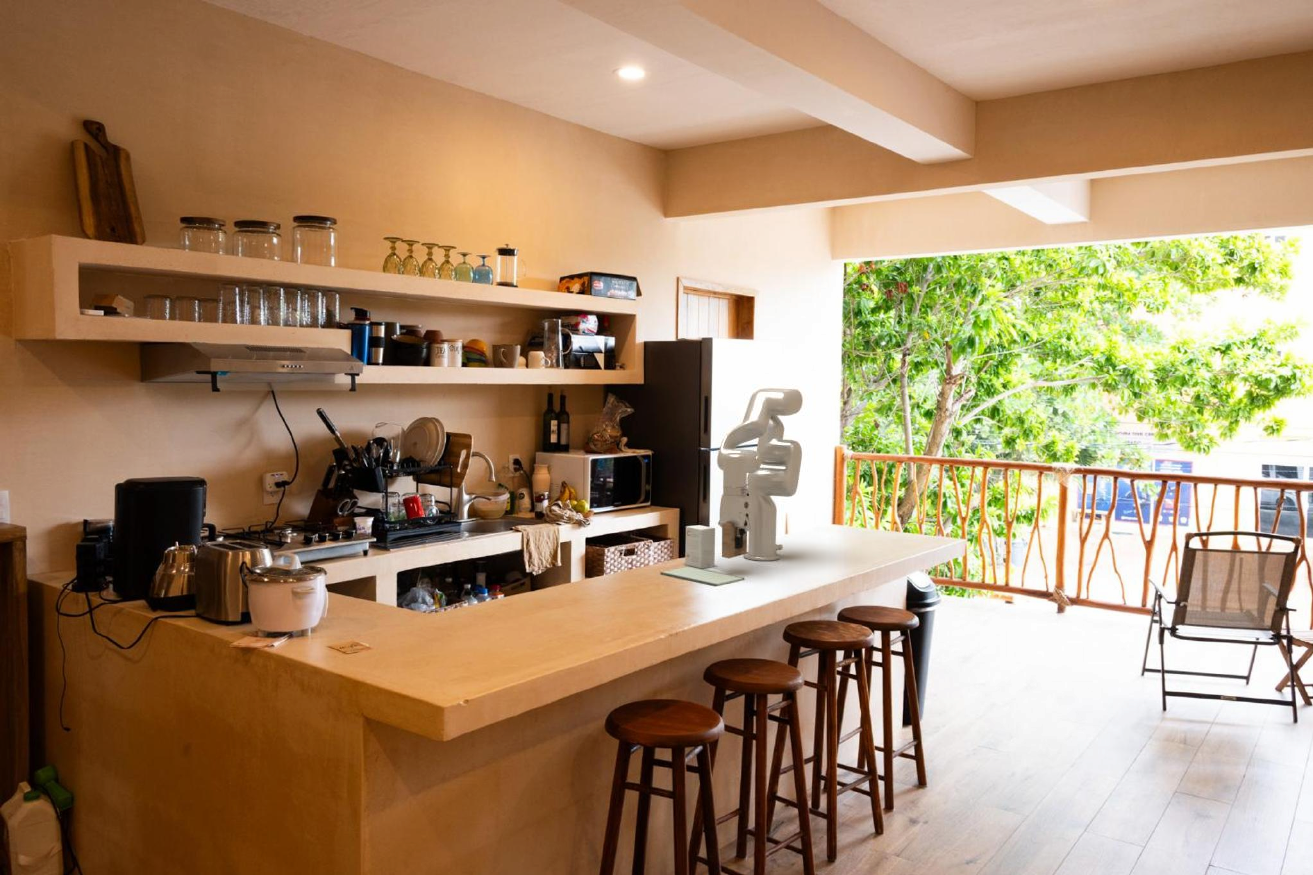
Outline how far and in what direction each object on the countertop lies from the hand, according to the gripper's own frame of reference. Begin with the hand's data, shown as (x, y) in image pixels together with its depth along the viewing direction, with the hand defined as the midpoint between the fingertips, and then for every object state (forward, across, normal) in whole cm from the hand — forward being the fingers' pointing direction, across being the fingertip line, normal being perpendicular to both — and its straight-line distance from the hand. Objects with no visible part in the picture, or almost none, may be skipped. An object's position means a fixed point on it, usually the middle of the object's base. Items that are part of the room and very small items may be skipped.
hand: (734, 546), depth 311 cm
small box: (+9, +14, +1) cm, 17 cm away
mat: (+8, +2, +14) cm, 16 cm away
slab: (+3, 0, 0) cm, 3 cm away
